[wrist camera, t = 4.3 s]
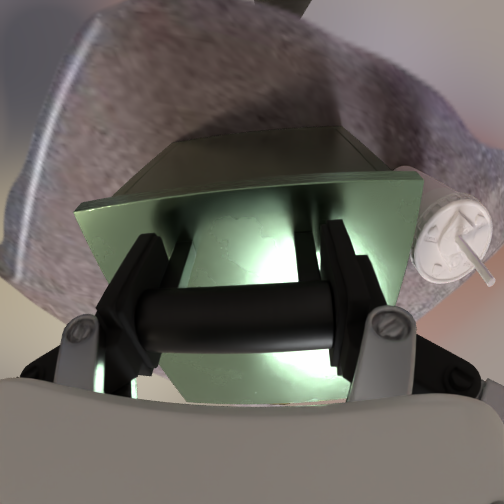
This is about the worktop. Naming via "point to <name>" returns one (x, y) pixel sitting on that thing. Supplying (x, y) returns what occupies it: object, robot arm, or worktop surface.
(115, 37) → the worktop surface
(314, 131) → the caddy
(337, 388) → the lid
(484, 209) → the smoothie
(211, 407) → the robot arm
